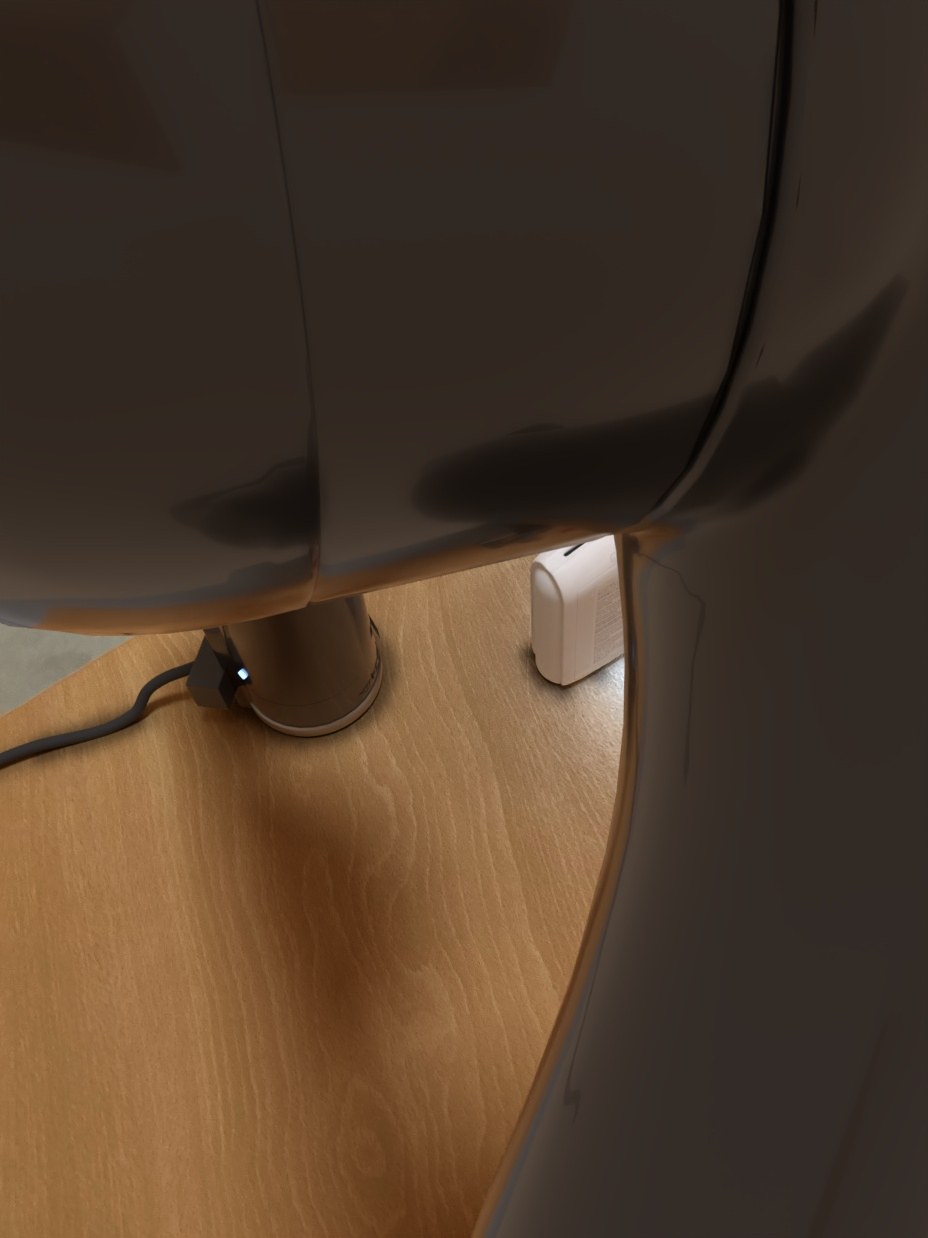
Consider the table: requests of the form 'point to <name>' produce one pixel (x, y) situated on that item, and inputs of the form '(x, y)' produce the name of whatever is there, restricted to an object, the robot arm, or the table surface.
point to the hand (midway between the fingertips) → (709, 1041)
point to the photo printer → (576, 610)
